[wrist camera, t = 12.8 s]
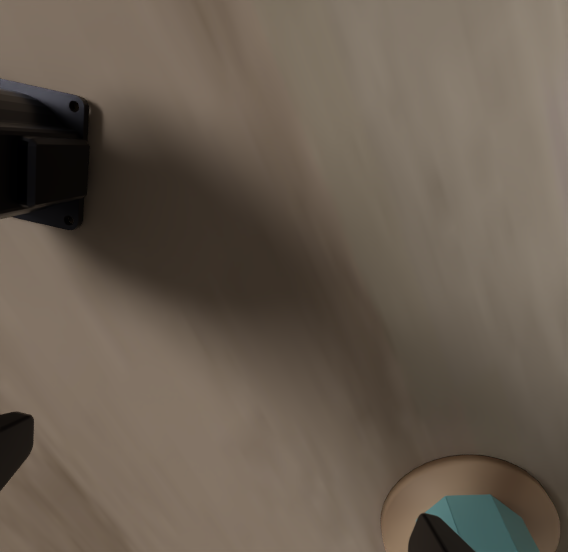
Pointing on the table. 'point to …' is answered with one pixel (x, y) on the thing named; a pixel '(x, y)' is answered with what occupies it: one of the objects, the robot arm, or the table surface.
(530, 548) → the teal lidded canister
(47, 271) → the table surface
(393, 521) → the tan round disc
